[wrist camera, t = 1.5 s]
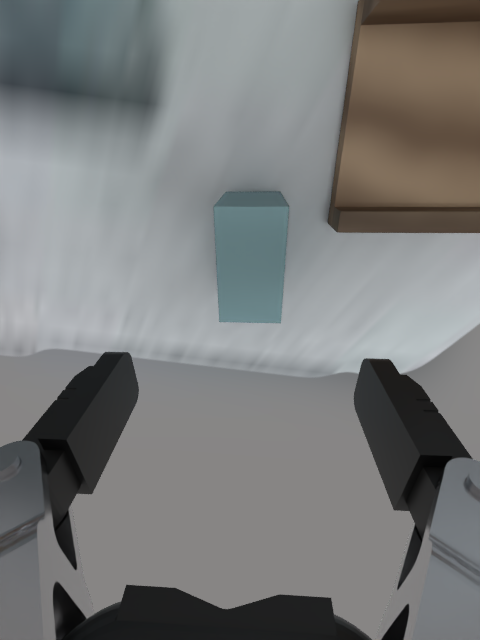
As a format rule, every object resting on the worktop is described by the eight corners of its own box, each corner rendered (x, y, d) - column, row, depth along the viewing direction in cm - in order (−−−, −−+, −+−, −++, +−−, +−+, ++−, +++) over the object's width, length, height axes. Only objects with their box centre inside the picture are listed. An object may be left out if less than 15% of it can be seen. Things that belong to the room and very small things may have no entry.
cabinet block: (226, 191, 24) (213, 206, 17) (280, 191, 24) (288, 206, 17) (228, 280, 28) (219, 321, 21) (275, 281, 28) (280, 323, 21)
